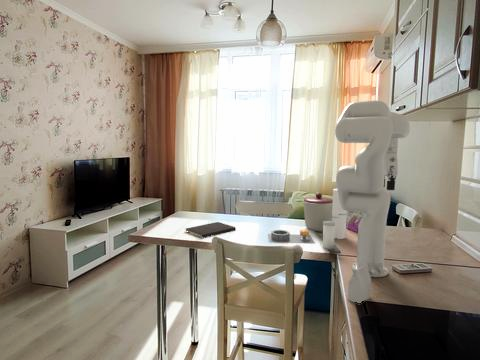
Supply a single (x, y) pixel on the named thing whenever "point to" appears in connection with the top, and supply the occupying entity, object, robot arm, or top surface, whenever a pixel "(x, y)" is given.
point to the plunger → (304, 233)
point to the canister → (317, 211)
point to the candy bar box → (354, 220)
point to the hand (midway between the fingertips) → (385, 188)
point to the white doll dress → (360, 285)
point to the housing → (287, 237)
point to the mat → (335, 250)
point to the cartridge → (328, 234)
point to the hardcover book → (210, 229)
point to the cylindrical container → (338, 217)
